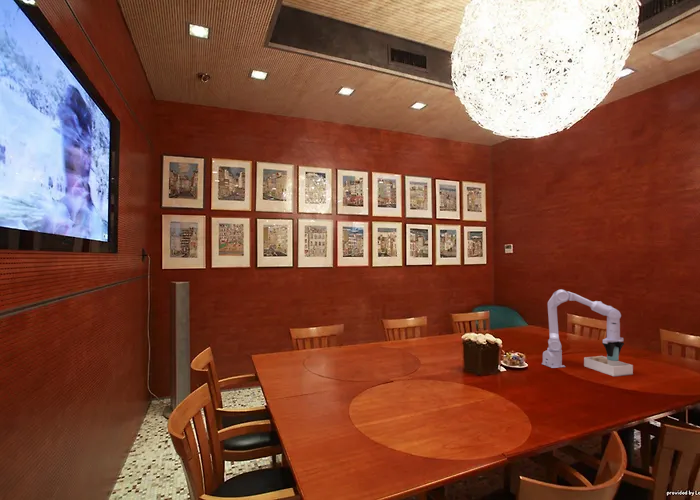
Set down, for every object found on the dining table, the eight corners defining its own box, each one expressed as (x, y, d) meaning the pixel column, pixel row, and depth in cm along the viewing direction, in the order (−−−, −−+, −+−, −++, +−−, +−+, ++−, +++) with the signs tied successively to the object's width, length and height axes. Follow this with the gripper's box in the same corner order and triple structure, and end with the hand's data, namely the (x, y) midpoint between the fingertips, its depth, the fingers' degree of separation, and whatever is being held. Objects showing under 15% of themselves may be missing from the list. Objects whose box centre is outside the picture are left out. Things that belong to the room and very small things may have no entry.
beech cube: (592, 365, 198) (592, 356, 198) (599, 364, 199) (599, 356, 199) (600, 368, 193) (600, 359, 193) (607, 367, 194) (607, 358, 195)
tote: (613, 376, 182) (613, 366, 182) (584, 366, 199) (584, 357, 199) (632, 374, 185) (632, 365, 185) (602, 364, 202) (602, 355, 202)
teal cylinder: (605, 359, 188) (605, 346, 188) (609, 357, 191) (609, 345, 191) (615, 361, 184) (616, 348, 184) (620, 360, 187) (620, 347, 187)
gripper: (612, 333, 181) (612, 359, 181) (629, 331, 186) (629, 356, 186) (598, 330, 188) (598, 355, 187) (615, 328, 193) (615, 352, 193)
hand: (613, 355), depth 187 cm, fingers closed on teal cylinder, 5 cm apart
